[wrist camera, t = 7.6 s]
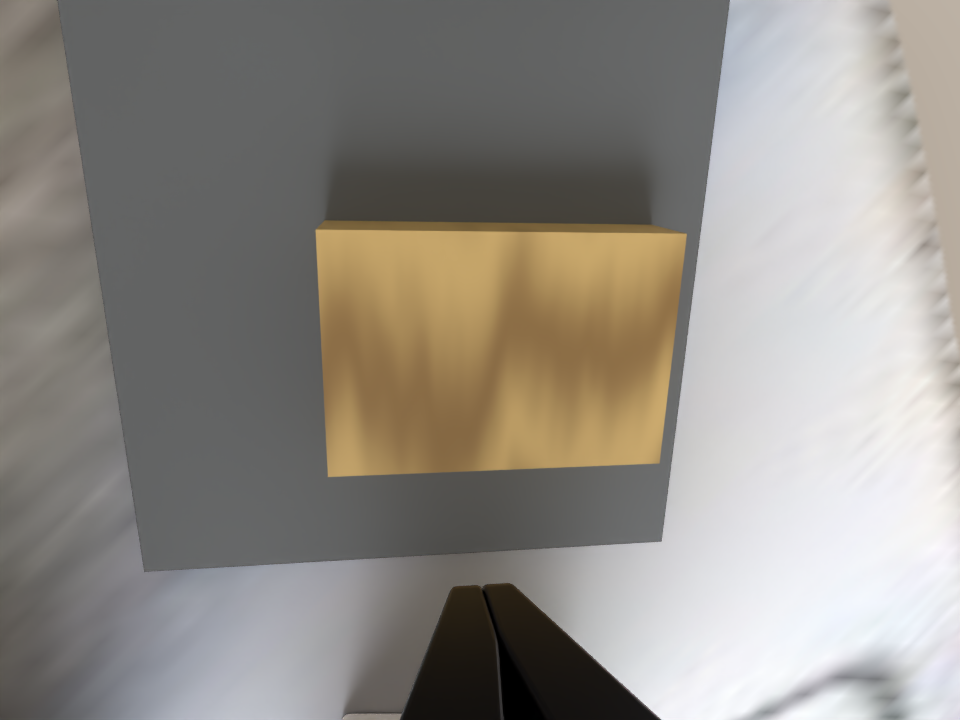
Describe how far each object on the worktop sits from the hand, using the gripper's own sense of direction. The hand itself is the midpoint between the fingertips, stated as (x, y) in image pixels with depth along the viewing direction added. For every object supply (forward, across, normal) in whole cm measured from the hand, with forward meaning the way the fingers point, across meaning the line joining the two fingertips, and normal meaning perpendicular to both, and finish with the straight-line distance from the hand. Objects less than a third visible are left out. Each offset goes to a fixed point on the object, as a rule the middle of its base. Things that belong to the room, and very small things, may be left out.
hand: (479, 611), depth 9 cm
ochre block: (+11, +3, -1) cm, 11 cm away
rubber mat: (+13, 0, -2) cm, 13 cm away
